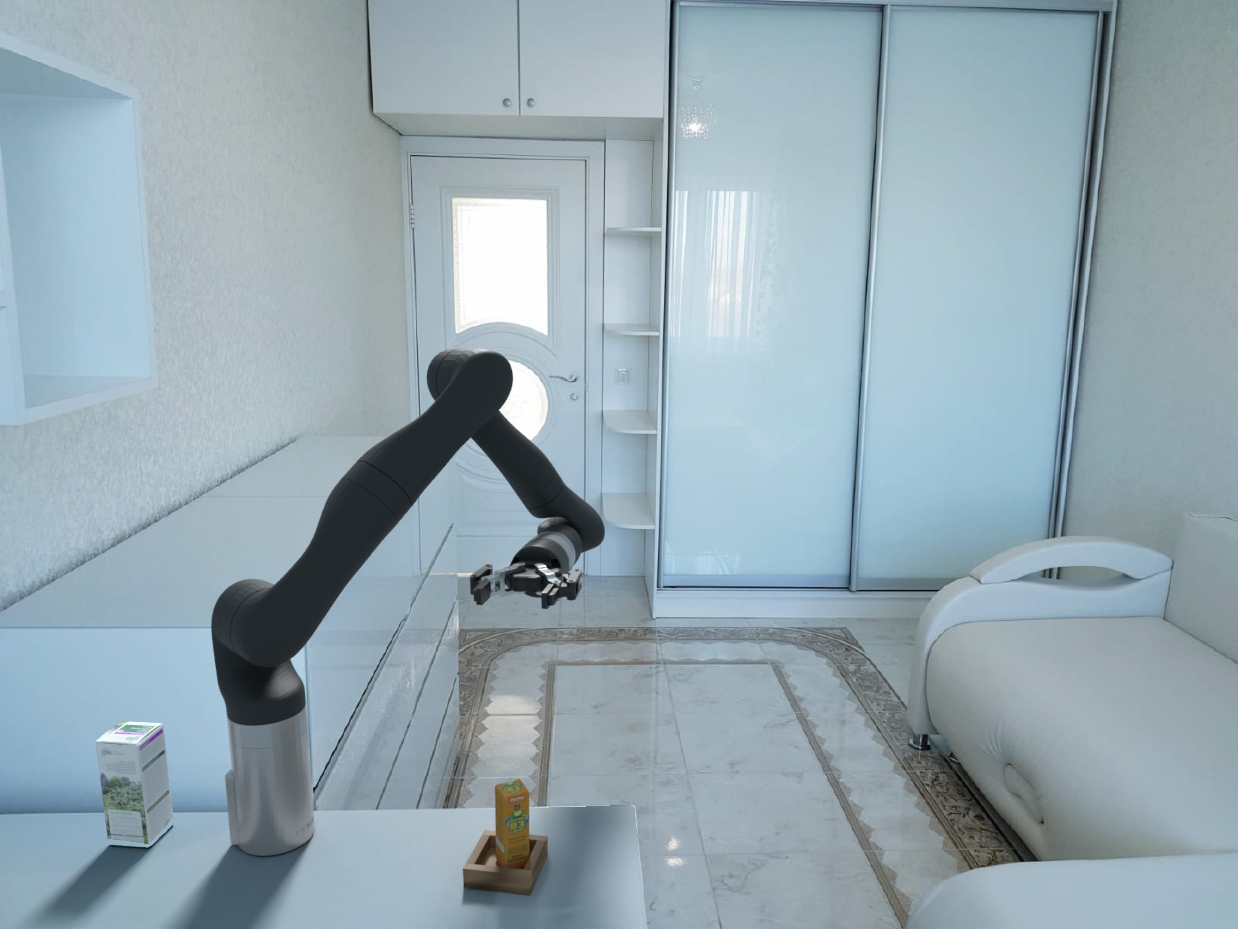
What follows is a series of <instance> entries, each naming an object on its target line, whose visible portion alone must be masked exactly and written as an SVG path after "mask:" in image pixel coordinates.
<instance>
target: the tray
mask: <svg viewBox="0 0 1238 929" xmlns="http://www.w3.org/2000/svg"><path fill="white" fill-rule="evenodd" d="M548 837H549V836H547V835H540V834H530V833H529V859H528V862H527V864H526V866H525V867H523V868H520V869H513V868H504V867H501V866H500V864H499V862H498V861H497V859H496V830H490V829H489V830H488V829H484V831H483V832H482V834H481V836H480V838H479V839H478V841H477V843H476V845H475V846H474V848H473V849H472V852H471V853H470V854H469V857H468V859H467V860H466V863H465V864H464V866H463V868H462V880H463V881H462V883H463V885H462V886H463V888H464V889H469V890H479V891H489V892H494V893H495V892H496V893H505V894H514V895H523V896H531V895H532V893H533V890H534V887H535V885H536V883H537V882H538V879H539V876H540V874H541V872H542V869H543V867H544V864H545V862H546V861H547V858H548V856H549V840H548V839H549V838H548ZM547 855H548V856H547Z"/></svg>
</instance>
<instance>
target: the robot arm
mask: <svg viewBox="0 0 1238 929" xmlns="http://www.w3.org/2000/svg"><path fill="white" fill-rule="evenodd" d="M426 385H427V389H428V392H429V393H430V396H431V398H432V400H434V402H433V403H431V405H430V406H429V407H428V408H427V409H426V410H425V411H424V412H423V413H422V414H420V415H419V416H418V417H417V418H415V419H414V420H412V421H411V422H410V423H408V424H406V425H404V426H403V427H401V428H400V429H398V430H396V431H395V432H393V433H392V434H390V435H389V436H387V437H386V438H383V439H381V441H379V442H378V443H376V444H375V445H373V446H372V447H370V448H369V449H368V450H367V451H366V452H365V453H363V454H362V456H360V457H359V458H358V459H357V460H356V461H355V463H353V465H352V466H351V467H350V468H349V470H348V471H347V472H346V473H345V474H344V475H343V476H342V477H341V478H340V480H338V482H337V483H336V485H335V486H333V488H332V489H331V491H330V493H329V495H328V497H327V499H326V500H325V503H324V506H323V509H322V511H321V514H320V517H319V520H318V523H317V525H316V529H315V531H314V534H313V536H312V538H311V541H310V542H309V544H308V545H307V547H306V548H305V550H304V551H303V553H302V554H301V556H300V557H299V558H298V559H297V561H296V562H294V563H293V565H292V566H291V567H290V568H289V570H288V571H286V572H285V574H283V576H282V577H281V578H280V579H279V580H278V581H276V582H275V584H274V583H271V582H269V581H266V580H264V579H258V578H247V579H242V580H239V581H236V582H235V583H233V584H231V585H229V586H228V587H227V588H225V590H224V591H222V592H221V593H220V595H219V597H218V598H217V600H216V603H215V604H214V606H213V610H212V614H211V623H210V624H211V627H210V628H211V630H210V631H211V642H212V643H211V644H212V652H213V656H214V657H213V658H214V659H213V660H214V665H215V673H216V680H217V681H216V682H217V685H218V689H219V692H220V694H221V697H222V699H223V701H224V703H225V709H226V719H227V720H226V722H227V729H228V730H227V731H228V742H229V750H230V751H229V753H230V765H231V769H229V771H227V772H226V773H225V775H224V783H225V784H224V785H225V792H226V793H225V795H226V803H227V804H226V806H227V815H228V825H229V826H228V827H229V828H228V829H229V836H230V837H229V838H230V839H229V840H230V845H231V844H232V845H231V846H236V845H237V847H238V848H240V850H242V851H243V852H244V853H246V854H249V855H253V856H259V857H265V856H266V857H267V856H274V855H280V854H281V855H282V854H284V853H287V852H290V851H292V850H295V849H297V848H299V847H301V846H303V845H304V844H305V843H307V842H308V841H309V840H310V839H311V838H312V837H313V835H314V832H315V828H316V827H315V813H314V811H315V810H314V797H313V796H314V795H313V794H314V793H313V781H312V780H313V779H312V769H311V767H312V766H311V753H310V742H309V741H310V740H309V725H308V713H307V711H308V710H307V701H306V700H307V698H306V688H305V684H304V681H303V679H302V678H301V677H300V675H299V673H297V670H296V668H295V666H294V664H293V662H292V660H291V659H292V658H294V657H295V656H297V655H298V654H299V653H300V651H301V650H303V648H304V647H305V646H306V645H307V643H308V642H309V641H310V640H311V638H312V636H313V635H314V634H315V632H316V631H317V629H319V627H320V625H321V624H322V622H323V620H324V619H325V617H326V616H327V615H328V613H329V612H330V610H331V609H332V607H333V605H334V604H335V602H336V601H337V599H338V598H339V596H340V595H341V594H342V592H343V591H344V589H345V588H346V587H347V585H348V584H349V582H351V580H352V579H353V578H354V576H355V575H356V574H357V573H358V572H359V571H360V569H361V568H362V567H363V565H364V564H365V563H366V562H367V561H368V560H369V559H370V557H371V556H372V554H373V553H374V552H375V551H376V550H377V548H378V547H379V546H380V545H381V543H382V542H383V540H385V538H386V537H387V536H388V535H389V534H390V533H391V532H393V530H394V528H395V527H396V526H398V524H399V523H400V522H401V520H402V519H403V518H404V517H405V516H406V514H407V513H408V512H409V511H410V509H411V508H412V507H413V506H414V505H415V503H416V502H417V501H418V499H419V497H420V496H422V494H423V493H424V491H425V490H426V489H427V488H428V487H429V485H430V484H431V483H432V482H433V481H434V480H435V479H436V478H437V477H438V475H439V474H440V473H441V471H443V469H444V468H445V467H446V466H447V465H448V463H449V462H450V461H451V460H452V459H453V457H454V456H455V455H456V454H457V452H458V451H459V450H460V449H462V447H463V446H464V445H465V444H466V443H467V442H468V441H470V439H471V440H473V442H474V443H475V445H477V446H478V448H479V449H481V451H482V452H483V453H484V454H485V455H486V456H487V458H488V459H489V460H490V461H491V462H492V463H493V465H494V466H495V467H496V468H497V470H498V471H499V472H500V474H501V475H502V476H503V477H504V478H505V480H506V481H507V483H508V484H509V485H510V487H511V488H512V490H513V491H514V493H515V494H516V496H517V497H518V499H519V500H520V502H522V503H521V504H523V506H524V507H525V509H526V510H527V512H529V514H530V515H532V517H534V518H537V519H545V520H544V521H542V522H541V523H540V524H538V526H537V529H536V531H537V532H536V534H537V535H535V536H533V537H532V538H530V540H529V541H527V543H525V544H524V545H523V546H522V547H521V548H520V549H519V550H518V551H517V552H516V553H515V554H514V556H513V557H512V559H511V561H510V564H509V565H508V566H505V567H503V568H500V569H495V570H494V569H493V564H490V563H486V564H484V565H482V566H481V567H479V568H478V569H477V570H476V571H474V572H473V573H471V574H470V575H469V587H470V588H469V589H470V590H469V591H470V595H473V602H475V604H476V606H483V605H484V604H486V602H487V601H489V599H490V598H491V597H493V596H500V597H502V598H503V597H507V596H508V597H509V596H511V595H514V594H519V595H521V594H524V595H525V596H527V597H530V598H531V597H532V598H534V599H535V598H537V599H538V598H540V600H541V601H540V602H541V610H549V608H550V607H552V606H555V605H556V603H557V602H560V601H562V598H566V600H567V601H575V600H577V599H578V598H577V597H578V596H579V593H580V592H581V590H582V588H583V587H582V586H583V576H582V573H583V571H582V569H581V568H574V569H573V567H574V566H575V564H576V563H577V562H578V561H579V559H580V557H581V554H583V553H586V552H587V551H591V550H594V549H595V548H597V547H598V546H600V545H601V544H602V543H603V541H604V539H605V536H606V534H605V533H606V528H605V524H604V521H603V519H602V517H601V516H600V514H599V513H598V511H596V510H595V508H594V507H593V506H592V505H590V503H589V502H586V501H585V500H584V499H583V498H582V497H580V496H579V495H578V494H577V493H576V492H574V491H573V490H572V489H571V488H570V487H568V486H567V485H566V484H565V481H564V480H563V478H562V477H561V476H560V474H559V473H558V471H557V469H556V468H555V467H554V465H553V464H552V462H551V461H550V459H549V458H548V457H547V456H546V454H545V453H544V452H543V451H542V449H540V448H539V447H538V446H537V445H536V444H535V443H534V442H533V441H531V440H530V439H529V438H528V437H527V436H526V435H524V433H522V432H521V431H520V430H519V429H517V428H516V427H515V426H514V424H513V423H511V422H510V421H509V419H508V418H507V417H506V416H505V415H504V414H503V413H502V412H501V409H502V407H503V406H504V405H505V403H506V401H507V400H508V399H509V396H510V394H511V392H512V389H513V385H514V374H513V368H512V365H511V363H510V361H509V360H508V359H507V358H506V357H505V356H504V355H502V354H501V353H500V352H497V351H495V350H492V349H487V348H478V347H477V348H475V347H474V348H470V347H469V348H465V347H459V348H458V347H453V348H448V349H444V350H442V351H439V352H438V353H437V354H435V355H434V356H433V358H432V360H431V361H430V362H429V365H428V367H427V372H426ZM492 586H494V588H492ZM505 587H507V588H505Z"/></svg>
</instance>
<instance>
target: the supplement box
mask: <svg viewBox="0 0 1238 929" xmlns="http://www.w3.org/2000/svg"><path fill="white" fill-rule="evenodd" d="M494 793H495V794H494V800H495V801H494V802H495V803H494V804H495V805H494V806H495V807H494V808H495V811H494V812H495V815H494V816H495V831H496V859H497V861H498V862H499V864H500V866H501V867H504V868H513V869H520V868H523V867H525V866H526V864H527V862H528V859H529V834H530V791H529V789H528V788H527V787H526V786H525V784H524V782H523V781H522V780H521V779H520V778H518V779H515V780H512V781H507V782H503V783H496V784H495V785H494Z"/></svg>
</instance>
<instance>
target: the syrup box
mask: <svg viewBox="0 0 1238 929" xmlns="http://www.w3.org/2000/svg"><path fill="white" fill-rule="evenodd" d="M166 746H167V745H166V735H165V727H164V723H162V722H161V723H160V722H141V721H121V722H119V723H117V724H116V725H114V726H112V727H111V728H110V729H109V730H107V731H105V733H104V734H102V735H100V736H99V738H98V739H96V740H95V749H96V755H97V756H96V757H97V763H98V773H99V780H100V787H101V788H100V789H101V796H102V804H103V805H102V806H103V813H104V820H105V827H106V836H107V837H106V838H107V840H108V839H112V840H121V841H123V840H124V841H130V842H136V843H137V842H138V843H144V844H149V843H150V842H151V841H152V840H154V838H155V837H156V836H157V835H158V834H160V832H161V831H162V830H163V829H164V828H165V827H166V826H167V825H168V823H169V822H170V821H171V819H172V818H173V817H174V810H173V805H172V804H173V803H172V795H171V794H172V793H171V786H170V777H169V776H170V775H169V768H168V765H169V764H168V757H167V756H168V754H167V747H166Z"/></svg>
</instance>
